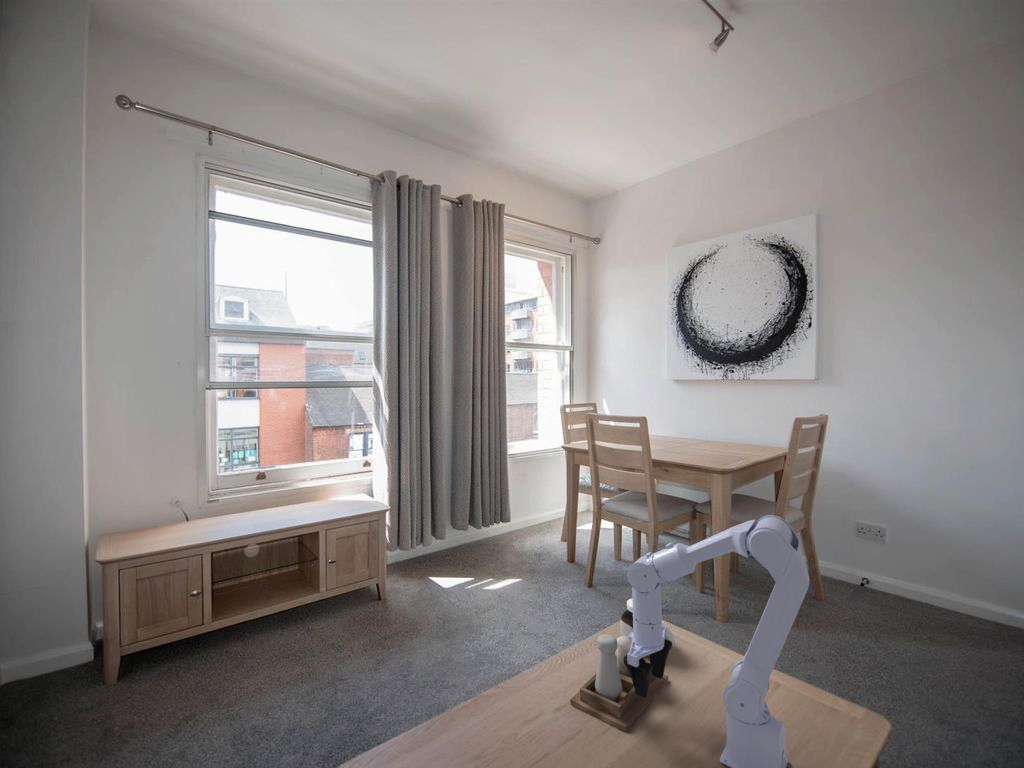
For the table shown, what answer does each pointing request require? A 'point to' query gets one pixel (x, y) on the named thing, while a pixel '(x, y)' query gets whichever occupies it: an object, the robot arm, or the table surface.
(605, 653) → the salt shaker
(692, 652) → the table surface
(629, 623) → the spread jar
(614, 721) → the wooden condiment caddy
